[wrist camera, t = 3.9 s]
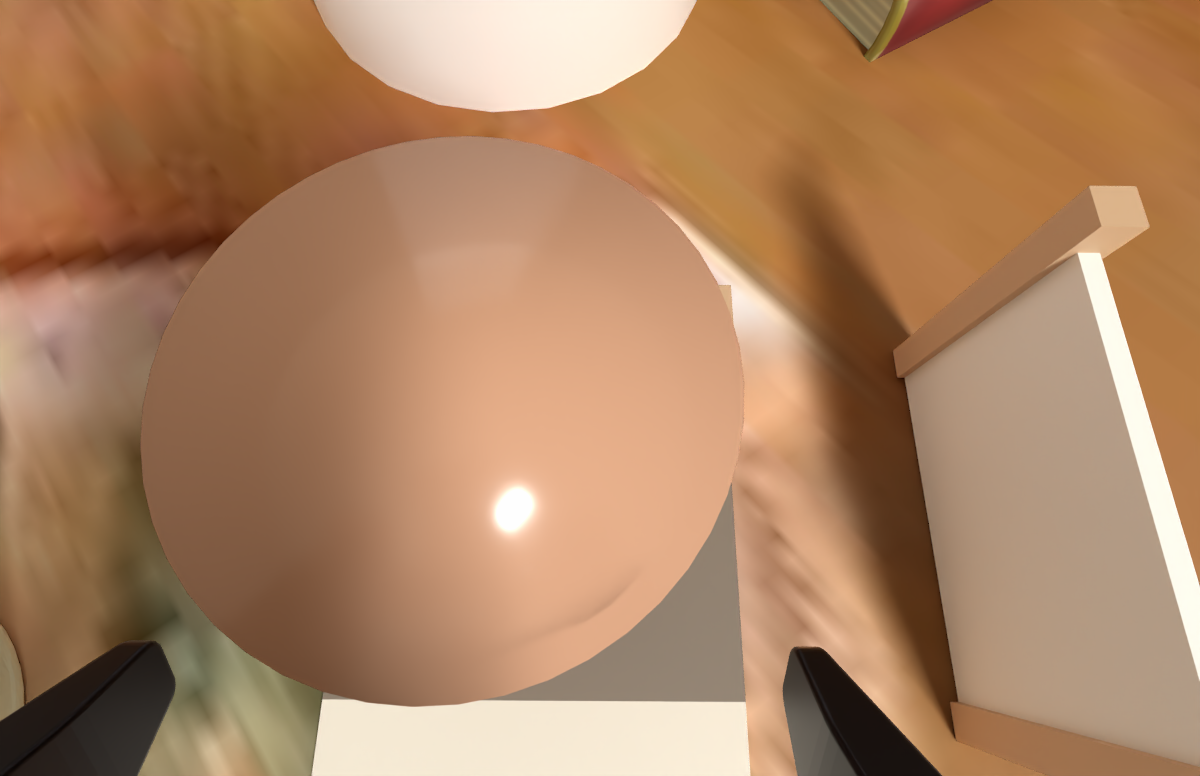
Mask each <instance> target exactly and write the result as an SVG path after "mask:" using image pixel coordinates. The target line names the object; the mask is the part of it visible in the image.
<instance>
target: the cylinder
mask: <svg viewBox="0 0 1200 776" xmlns="http://www.w3.org/2000/svg"><path fill="white" fill-rule="evenodd" d="M696 1H697V0H314V2H315V5H316V7H317V9H318V11H319V13H320V15H321V17H322V20H323V22H324V24H325V26H326V27H327V29H328V30H329V31H330V33H331V34H332V35H333V36H334V38H335V39H336V40H337V42H338V43H339V44H340V46H341V47H342V48H343V50H344V51H345V52H346V53H347V55H348V56H349V57H350V59H351V60H353V61H354V62H356V63H357V64H358V65H360V66H361V67H363V68H364V69H365V70H367V71H368V72H370V73H371V74H372V75H374V76H375V77H377V78H378V79H380V80H381V81H382V82H384V83H385V84H387V85H388V86H390V87H392V88H395V89H398V90H400V91H403V92H406V93H408V94H411V95H414V96H416V97H419V98H421V99H424V100H427V101H429V102H432V103H435V104H437V105H444V106H451V107H459V108H466V109H473V110H480V111H488V112H501V111H515V110H529V109H543V108H550V107H554V106H557V105H561V104H564V103H568V102H571V101H574V100H578V99H581V98H585V97H588V96H592V95H595V94H599V93H601V92H603V91H605V90H607V89H609V88H610V87H612V86H614V85H616V84H617V83H619V82H621V81H623V80H625V79H626V78H628V77H630V76H632V75H634V74H635V73H637V72H639V71H641V70H642V69H644V68H645V67H647V66H648V65H649V64H650V63H651V62H652V61H653V60H654V59H655V58H656V57H657V56H658V55H659V54H660V53H661V52H662V51H663V50H664V49H665V48H666V47H667V46H668V45H669V44H670V43H671V42H672V41H673V40H674V39H675V38H676V37H677V36H678V34H679V33H680V31H681V29H682V27H683V25H684V23H685V21H686V20H687V18H688V16H689V14H690V12H691V10H692V9H693V7H694V5H695V3H696Z"/></svg>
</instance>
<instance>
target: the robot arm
mask: <svg viewBox="0 0 1200 776" xmlns="http://www.w3.org/2000/svg"><path fill="white" fill-rule="evenodd" d="M174 692H175V677H174V675H173V672H172V670H171V668H170V665H169V663H168V661H167V658H166V656H165V654H164V651H163V649H162V647H161V645H160V644H159V643H157V642H156V641H151V640H130V641H125V642H123V643H120V644H119V645H117V646H115V647H114V648H112V649H111V650H109V651H107V652H106V653H104V654H103V655H101V656H100V657H98V658H97V659H95V660H94V661H92V662H90V663H89V664H87V665H86V666H84V667H83V668H81V669H80V670H78V671H77V672H75V673H73V674H72V675H70V676H69V677H67V678H66V679H64V680H63V681H61V682H60V683H58V684H56V685H55V686H53V687H52V688H50V689H49V690H47V691H46V692H44V693H43V694H41V695H39V696H38V697H36V698H35V699H33V700H32V701H30V702H29V703H27V704H26V705H24V706H22V707H21V708H19V709H18V710H16V711H15V712H13V713H12V714H10V715H9V716H7V717H5V718H4V719H2V720H1V721H0V776H138V774H139V772H140V769H141V767H142V765H143V763H144V761H145V758H146V756H147V754H148V752H149V749H150V747H151V745H152V743H153V741H154V738H155V736H156V734H157V732H158V729H159V727H160V725H161V723H162V721H163V718H164V716H165V714H166V712H167V709H168V707H169V705H170V703H171V701H172V698H173V695H174ZM783 700H784V706H785V712H786V717H787V722H788V727H789V733H790V738H791V743H792V749H793V754H794V759H795V765H796V770H797V775H798V776H942V775H941V774H940V773H939V772H938V771H937V769H936V768H935V767H934V766H933V765H932V764H931V763H930V762H929V761H928V760H927V759H926V758H925V757H924V756H923V755H922V753H921V752H920V751H919V750H918V749H917V748H916V747H915V746H914V745H913V744H912V743H911V742H910V741H909V740H908V739H907V737H906V736H905V735H904V734H903V733H902V732H901V731H900V730H899V729H898V728H897V727H896V726H895V725H894V724H893V722H892V721H891V720H890V719H889V718H888V717H887V716H886V715H885V714H884V713H883V712H882V711H881V710H880V709H879V708H878V706H877V705H876V704H875V703H874V702H873V701H872V700H871V699H870V698H869V697H868V696H867V695H866V694H865V693H864V692H863V690H862V689H861V688H860V687H859V686H858V685H857V684H856V683H855V682H854V681H853V680H852V679H851V678H850V677H849V676H848V674H847V673H846V672H845V671H844V670H843V669H842V668H841V667H840V666H839V665H838V664H837V663H836V662H835V661H834V659H833V658H832V657H831V656H830V655H829V654H828V653H827V652H826V651H825V650H823V649H822V648H820V647H794V648H793V649H792V650H791V652H790V656H789V660H788V665H787V670H786V674H785V679H784V683H783Z"/></svg>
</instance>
